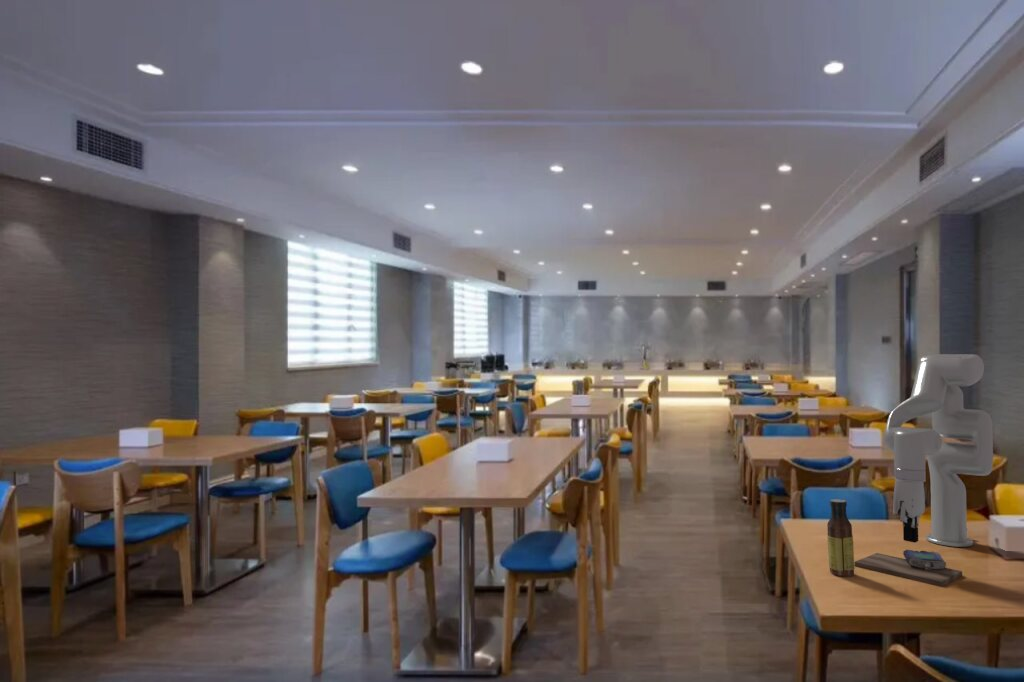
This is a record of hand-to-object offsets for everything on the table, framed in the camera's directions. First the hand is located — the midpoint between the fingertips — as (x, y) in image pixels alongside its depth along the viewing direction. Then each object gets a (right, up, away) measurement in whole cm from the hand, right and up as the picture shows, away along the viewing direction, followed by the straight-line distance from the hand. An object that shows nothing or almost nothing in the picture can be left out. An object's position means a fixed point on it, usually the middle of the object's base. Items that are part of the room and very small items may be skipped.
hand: (910, 540), depth 188 cm
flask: (+5, -5, +4) cm, 8 cm away
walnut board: (-2, -8, -2) cm, 8 cm away
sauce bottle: (-22, -8, -5) cm, 23 cm away
